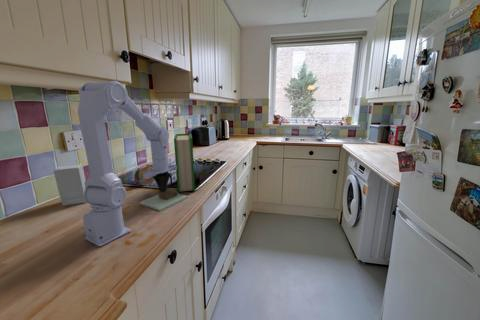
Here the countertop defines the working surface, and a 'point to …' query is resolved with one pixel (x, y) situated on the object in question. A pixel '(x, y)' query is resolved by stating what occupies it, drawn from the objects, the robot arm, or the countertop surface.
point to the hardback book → (184, 162)
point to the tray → (162, 202)
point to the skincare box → (70, 184)
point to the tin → (139, 175)
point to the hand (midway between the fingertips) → (162, 191)
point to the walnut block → (168, 194)
